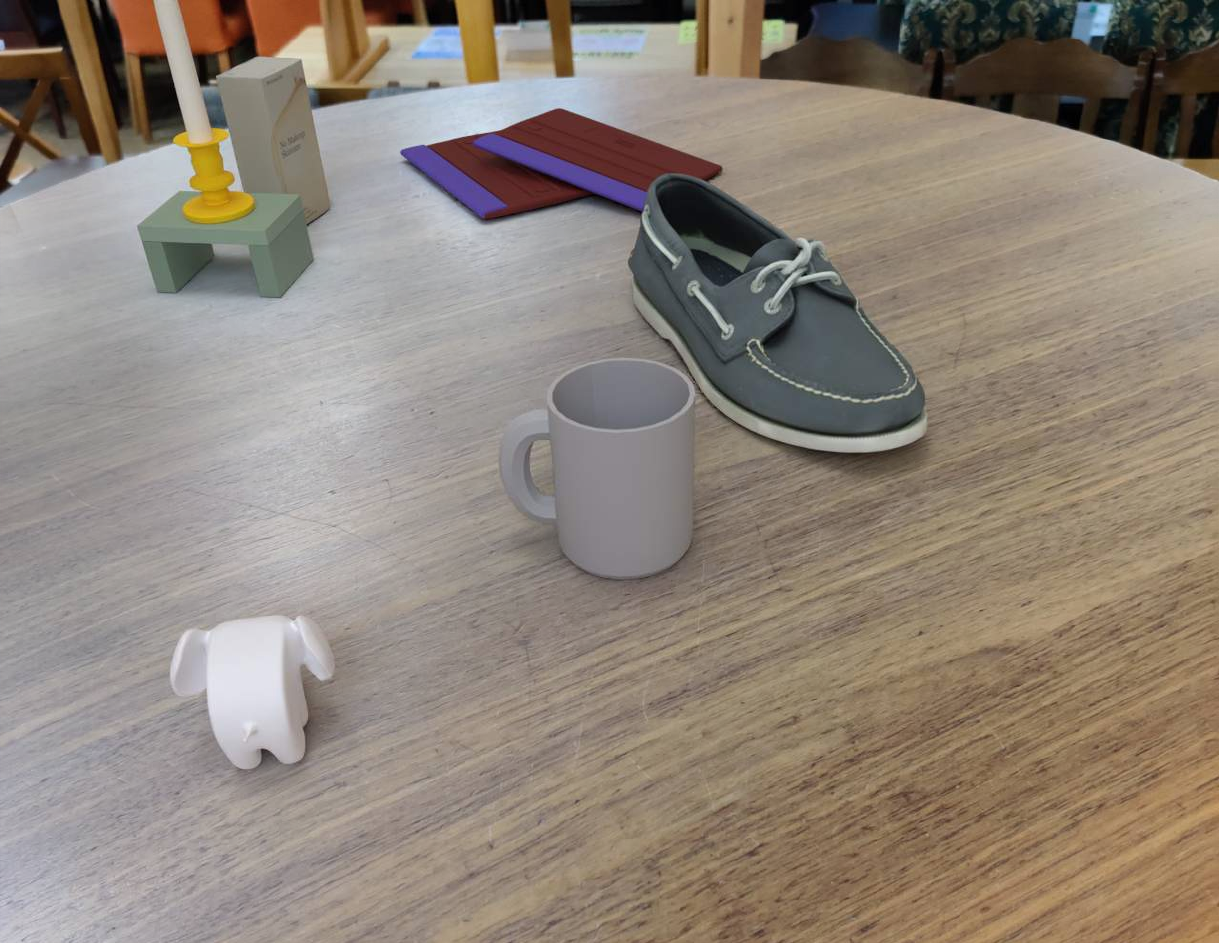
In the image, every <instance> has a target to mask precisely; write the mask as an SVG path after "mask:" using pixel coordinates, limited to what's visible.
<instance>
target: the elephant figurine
mask: <svg viewBox="0 0 1219 943" xmlns="http://www.w3.org/2000/svg"><path fill="white" fill-rule="evenodd" d="M335 662H336V661H335V657H334V654H333V651H332V648H331V646H330V643H329V641H328V639H327V636H326V634H325V633H324V631H323V629H322V628H321V626H319V624H318V623H317V622H315V621H314V620H313V619H311V618H310V617H308V616H305V615H298V616H297V615H296V617H295V619H292V618H289V617H288V616H286V615H281V614H275V615H265V616H257V617H249V618H238V619H232V620H227V621H226V620H225V621H222V622H220V623H219V624H218V625H216V626H215V627H213V628H210V629H207V630H205V629H199V628H196V627H195V628H194V627H191V628H188V629H187V630H186V631H184V632H183V634H182V635H181V636H180V638H179V640H178V642H177V645H176V647H175V650H174V652H173V655H172V659H171V662H170V668H169V682H170V687H171V688H172V691H173V692H174V693H175V695H176V696H178V697H181V698H188V697H195V696H198V695H200V694H201V693H203V692H204V691H205V690H206V702H207V711H208V717H209V722H210V726H211V729H212V732H213V735H214V737H215V740H216V742H217V744H218V746H219V747H220V749H221V750H222V752H223V753H224V754H225V756H226V757H227V759H228V760H229V762H231V764H233V765H234V766H235V767H236V768H238V769H240V770H247V771H248V770H253V769H255V768H257V767H258V766H259V765H260V764H261V762H262V758H263V756H262V749H264V750H267V751H269V752H270V753H271V754H273V755H274V756H275V757H276V759H277V760H278V761H279V762H280V763H281V764H284V765H292V764H295V763H298V762H300V761H301V760H302V759H303V758H304V756H305V753H306V736H305V731H304V727H305V726H306V725H307V723H308V721H309V710H308V709H309V708H308V704H307V699H306V696H305V695H306V694H305V691H304V685H303V679H302V670H301V667H302V666H303V665H305V667H306V669H308V671H309V672H310V673H311V674H313V675H314V676H315V677H316V678H317V679H318V680H319V681H322V682H323V681H326V680H330V679H332V678H333V676H334V675H335V669H336V663H335Z"/></svg>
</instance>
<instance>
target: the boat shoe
mask: <svg viewBox="0 0 1219 943" xmlns="http://www.w3.org/2000/svg"><path fill="white" fill-rule="evenodd" d="M639 219H640V220H639V229H638V233H637V237H636V240H635V245H634V248H633V249H632V250H631V251H630V254H629V258H628V260H627V265H628V268H629V269H630V271H631V273H632V287H631V291H632V298H633V302H634V305H635V308H637V310H638V311H639V313H640V314H641V316H642V317H643V318H644V319H645V321H646V322H647V323H648V324H649V325H650V326H651V327H652V328H653V329H654V330H655V332H657V334H658V335H659V336H660V337H661V338H662V339H665V340H669V341H670V342H671V344H672V345H673V346H674V347H675V349H676V350H677V352H678V353H679V355H680V356H681V358H682V360H683V361H684V363H685V364H686V366H687V368H688V370H689V372H690V374H691V375H692V377H693V379H694V380H695V382H696V384H697V385H698V387H699V389H700V390H701V392H702V393H703V394H704V396H705V397H706V399H708V401H709V402H710V403H711V404H712V405H713V406H714V407H715V408H716V409H717V410H719V411H720V412H721V413H722V414H723V415H725V416H726V417H728V418H729V419H731V420H732V421H734V422H735V423H737V424H738V425H740V426H742V427H744V428H746V429H748V430H750V431H752V432H754V433H756V434H758V435H761V436H763V437H765V438H768V439H771V440H775V441H777V442H781V443H784V444H787V445H788V444H789V445H792V446H796V447H801V448H804V449H805V448H806V449H811V450H817V451H823V452H834V453H875V452H884V451H889V450H894V449H897V448H901V447H903V446H907V445H909V444H911V443H914V442H916V441H917V440H919V439H921V438H922V437H923V436H924V435H925V434H926V433H927V429H928V411H927V408H926V405H925V404H926V394H925V391H924V390H925V389H924V387H923V385H922V383H921V382H920V380H919V379H918V377H917V376H916V374H915V371H914V369H913V366H912V365H911V363H909V361H908V360H907V359H906V358H905V357H904V355H903V354H902V353H901V352H900V351H899V349H898V348H896V346H895V345H893V344H892V343H891V342H890V341H889V340H888V339H887V338H886V336H885V335H883V334H882V332H881V331H880V330H879V329H878V328H877V327H876V326H875V325H874V324H873V323H872V322H871V320H870V319H869V317H868V316H867V315H866V313H865V311H864V309H863V308H862V307H860V304H861V303H860V302H861V301H860V300H859V299H858V298H857V296H856V294H854V293H853V292H852V291H851V289H850V288H849V287H848V286H847V284H846V283H845V281H844V279H843V278H842V276H841V275H840V273H839V272H838V270H837V269H836V268H835V267H834V265H833V264H832V262H831V261H830V260H829V258H828V257H827V247H826V244H825V243H823V242H822V241H820V240H814V239H808V240H807V239H806V238H804V237H797V238H796V239H795V240H793V239H792V238H791V237H790V236H789V235H788V234H786V233H785V232H784V231H783V230H782V229H780V228H778V227H777V226H776V225H775V224H774V223H772V222H770V221H769V220H768V219H766V218H765V217H763V216H761V215H760V214H758V213H757V212H755V211H753V210H752V209H751V208H749V207H748V206H746V205H745V204H743V202H741V201H739V200H737V199H736V198H734V197H733V196H731V195H730V194H729V193H727V192H725V191H723V190H722V189H721V188H719V187H717V186H715V185H713V184H711V183H709V182H707V180H705V181H704V180H702V179H699V178H696V177H693V176H690V175H685V174H674V173H671V174H664V175H662V176H660V177H658V178H657V179H655V180H654V181H653V182H652V183H651V185H650V187H649V189H648V191H647V194H646V198H645V203H644V209H643V211H641V214H640V218H639Z"/></svg>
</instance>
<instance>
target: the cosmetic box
mask: <svg viewBox="0 0 1219 943" xmlns="http://www.w3.org/2000/svg"><path fill="white" fill-rule="evenodd" d="M215 80H216V83H217V88H218V92H219V96H220V101H221V104H222V109H223V113H224V116H225V121H226V126H227V130H228V133H229V137H230V141H231V145H232V150H233V154H234V158H235V164H236V166H237V171H238V174H239V178H240V183H241V187H242V192H244V193H266V194H299V195H300V196H301V201H302V206H303V210H304V215H305V220H306V225H309V224H310V223H311V222H313V221H314V220H316V219H317V218H318V217H320V216H322V215H323V214H325V213H326V212H328V211H329V210H330V209H331V200H330V197H329V192H328V186H327V182H326V177H325V170H324V167H323V161H322V156H321V151H320V145H319V142H318V136H317V131H316V126H315V121H314V116H313V110H312V105H311V100H310V96H309V95H310V94H309V91H308V86H307V81H306V76H305V70H304V66H303V59H302V58H298V57H297V58H295V57H294V58H293V57H292V58H291V57H274V56H272V57H271V56H255V57H253V58H251V59H248V60H247V61H245V62H242V63H240V64H238V65H236V66H234V67H232V68H231V69H228V70H227V71H224V72H222V73H220V74H218V75H216V76H215Z"/></svg>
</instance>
